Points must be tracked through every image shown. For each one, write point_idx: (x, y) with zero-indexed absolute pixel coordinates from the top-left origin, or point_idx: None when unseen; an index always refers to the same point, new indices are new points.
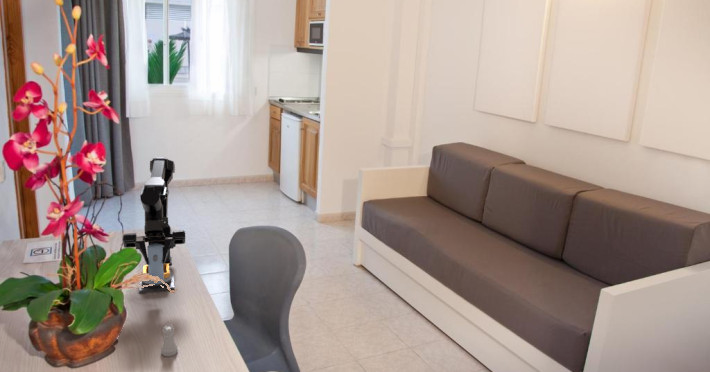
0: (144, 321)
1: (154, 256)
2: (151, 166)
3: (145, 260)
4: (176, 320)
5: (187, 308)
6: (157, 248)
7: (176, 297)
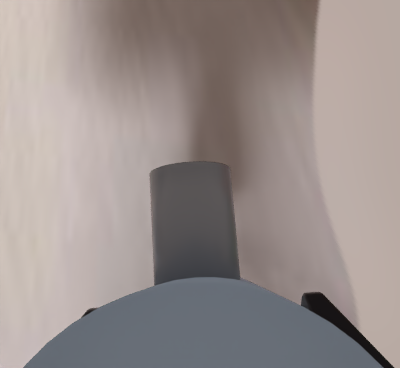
0: (254, 92)
1: (203, 197)
2: None
3: (354, 329)
4: (112, 83)
5: (58, 187)
6: (111, 348)
7: None
